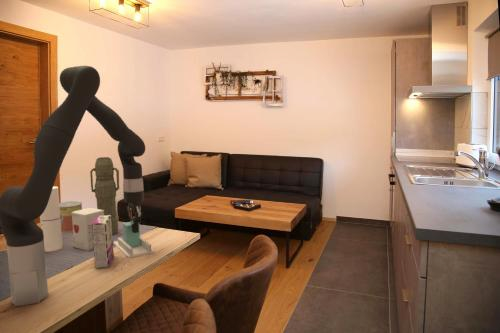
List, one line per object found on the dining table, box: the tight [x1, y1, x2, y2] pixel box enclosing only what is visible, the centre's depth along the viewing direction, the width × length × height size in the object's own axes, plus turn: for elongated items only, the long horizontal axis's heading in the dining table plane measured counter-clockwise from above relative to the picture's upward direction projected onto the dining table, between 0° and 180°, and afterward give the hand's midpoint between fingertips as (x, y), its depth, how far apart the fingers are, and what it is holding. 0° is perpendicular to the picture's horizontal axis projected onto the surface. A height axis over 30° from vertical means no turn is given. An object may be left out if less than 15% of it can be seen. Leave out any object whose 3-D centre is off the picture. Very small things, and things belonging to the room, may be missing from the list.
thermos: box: [89, 156, 120, 237], centre depth 165 cm, size 9×12×35 cm
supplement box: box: [72, 207, 104, 251], centre depth 151 cm, size 9×9×15 cm
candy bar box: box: [92, 215, 115, 269], centre depth 134 cm, size 11×5×16 cm, turn 12°
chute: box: [113, 235, 155, 259], centre depth 149 cm, size 20×10×3 cm, turn 36°
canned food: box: [59, 200, 83, 233], centre depth 175 cm, size 11×11×12 cm
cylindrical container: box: [39, 185, 63, 253], centre depth 148 cm, size 7×7×25 cm
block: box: [122, 221, 141, 247], centre depth 149 cm, size 5×5×9 cm
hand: (135, 232), depth 146 cm, fingers closed
